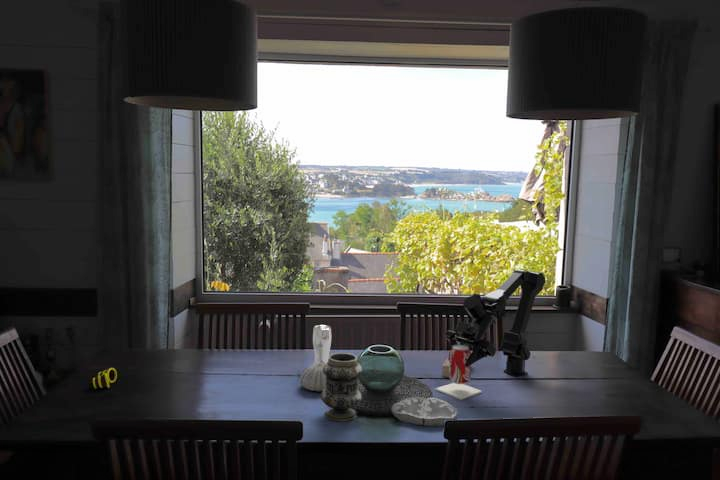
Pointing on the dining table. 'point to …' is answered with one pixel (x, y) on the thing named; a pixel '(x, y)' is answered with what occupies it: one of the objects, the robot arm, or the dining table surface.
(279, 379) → the dining table surface
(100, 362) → the dining table surface
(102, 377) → the yellow coil spring
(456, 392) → the pad
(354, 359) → the apothecary jar
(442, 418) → the brain slice
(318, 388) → the sea urchin shell
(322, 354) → the beer glass
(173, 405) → the dining table surface
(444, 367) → the brick
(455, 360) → the soda can
